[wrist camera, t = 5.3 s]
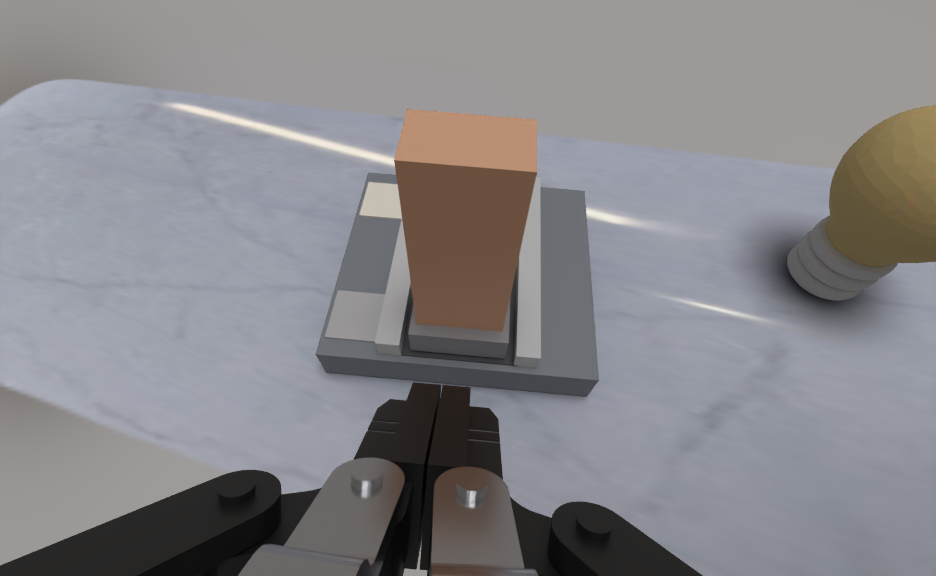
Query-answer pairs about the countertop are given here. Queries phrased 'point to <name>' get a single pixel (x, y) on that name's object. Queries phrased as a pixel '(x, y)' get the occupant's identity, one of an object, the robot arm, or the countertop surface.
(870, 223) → the light bulb
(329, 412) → the countertop surface
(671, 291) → the countertop surface
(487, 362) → the switch panel
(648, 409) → the countertop surface
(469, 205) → the lever
